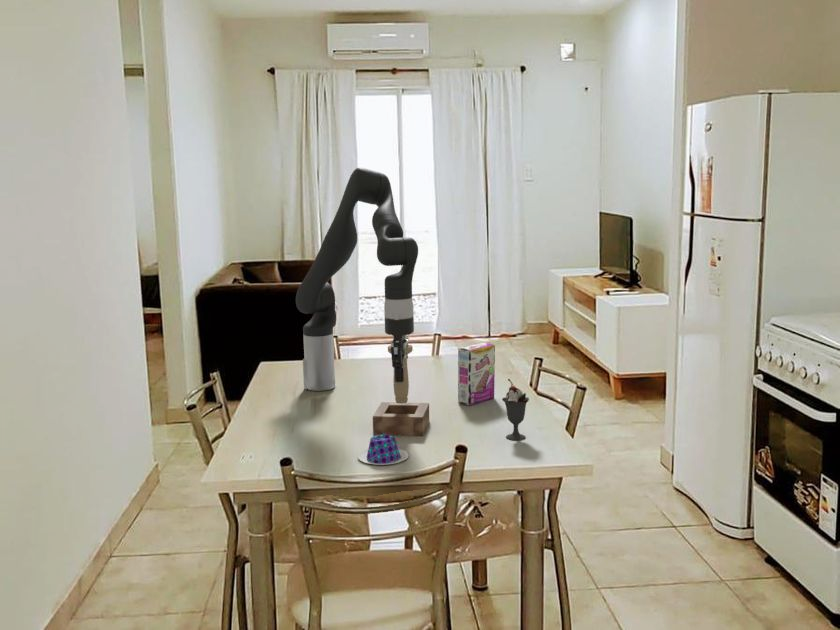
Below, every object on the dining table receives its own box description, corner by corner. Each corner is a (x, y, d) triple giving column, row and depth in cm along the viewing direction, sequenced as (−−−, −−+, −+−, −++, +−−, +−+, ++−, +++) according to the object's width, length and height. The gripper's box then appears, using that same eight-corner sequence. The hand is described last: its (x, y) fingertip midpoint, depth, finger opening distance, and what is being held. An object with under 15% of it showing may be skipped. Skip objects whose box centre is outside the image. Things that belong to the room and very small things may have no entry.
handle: (414, 404, 220) (413, 347, 217) (390, 405, 219) (388, 349, 216) (412, 399, 225) (411, 344, 222) (388, 400, 224) (387, 345, 221)
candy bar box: (470, 406, 241) (469, 350, 238) (457, 403, 245) (456, 347, 242) (495, 398, 249) (495, 343, 246) (483, 395, 252) (482, 341, 250)
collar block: (373, 434, 217) (372, 416, 217) (382, 419, 230) (381, 402, 229) (423, 436, 216) (422, 417, 215) (429, 420, 228) (429, 403, 227)
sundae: (501, 433, 216) (501, 376, 214) (527, 433, 216) (527, 376, 213) (503, 441, 210) (502, 383, 207) (530, 441, 210) (530, 383, 207)
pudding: (390, 447, 209) (390, 426, 208) (418, 460, 199) (418, 438, 198) (348, 457, 202) (348, 436, 201) (375, 471, 192) (374, 449, 191)
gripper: (389, 310, 225) (391, 372, 228) (379, 320, 211) (381, 386, 214) (417, 310, 224) (418, 373, 227) (409, 320, 210) (410, 387, 213)
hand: (400, 379), depth 221 cm, fingers closed on handle, 4 cm apart
